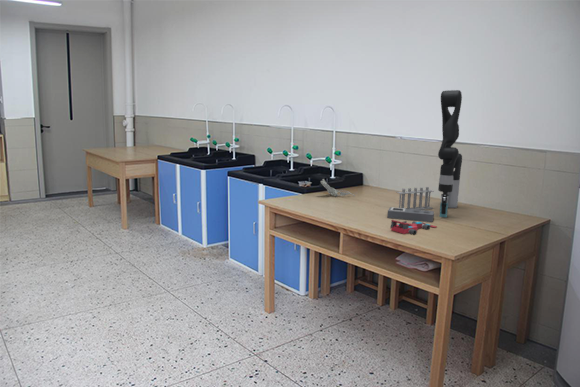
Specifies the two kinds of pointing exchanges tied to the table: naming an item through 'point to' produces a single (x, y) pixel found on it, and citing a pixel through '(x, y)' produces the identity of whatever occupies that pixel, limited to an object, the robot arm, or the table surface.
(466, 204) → the table surface
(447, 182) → the robot arm
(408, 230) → the race car
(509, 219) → the table surface
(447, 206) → the block
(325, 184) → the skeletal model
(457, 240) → the table surface
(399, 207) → the test tube rack
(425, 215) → the power strip
